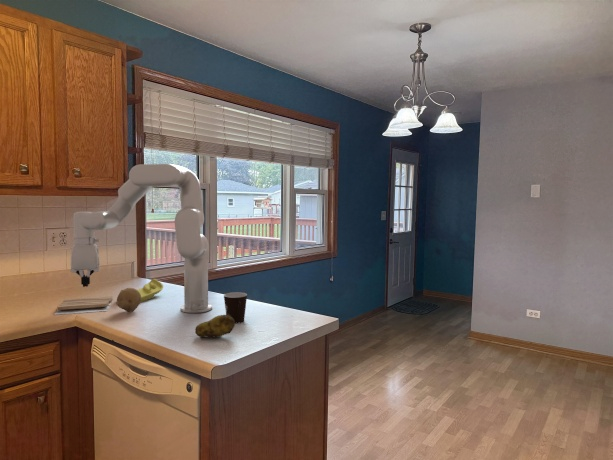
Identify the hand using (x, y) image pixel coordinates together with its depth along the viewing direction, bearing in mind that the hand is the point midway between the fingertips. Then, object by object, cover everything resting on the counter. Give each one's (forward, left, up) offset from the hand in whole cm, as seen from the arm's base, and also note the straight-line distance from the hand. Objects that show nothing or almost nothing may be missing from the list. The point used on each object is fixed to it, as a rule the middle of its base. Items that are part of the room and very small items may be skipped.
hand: (85, 286), depth 177 cm
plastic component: (+12, -21, -10) cm, 27 cm away
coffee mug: (-38, -55, -10) cm, 67 cm away
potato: (-54, -46, -10) cm, 71 cm away
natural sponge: (-12, -17, -10) cm, 23 cm away
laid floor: (+4, +1, -10) cm, 10 cm away
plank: (+1, +1, -9) cm, 9 cm away
